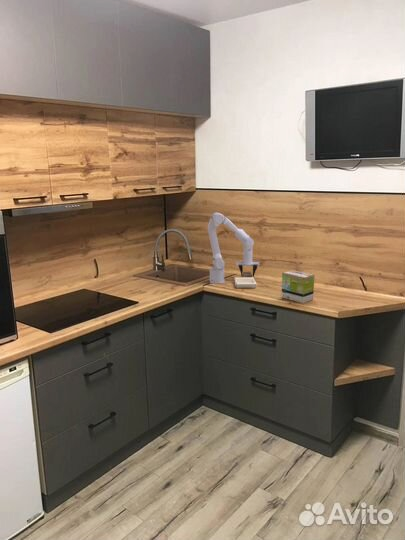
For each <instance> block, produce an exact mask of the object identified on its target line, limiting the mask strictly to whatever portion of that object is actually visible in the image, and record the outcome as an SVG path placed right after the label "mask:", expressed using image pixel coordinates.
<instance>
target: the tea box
mask: <svg viewBox="0 0 405 540" xmlns="http://www.w3.org/2000/svg"><path fill="white" fill-rule="evenodd" d="M281 274H282V277H281V299H287V300H290V301H294V302H298V303H301V304H305V303H307V302H310V301H313V300H314V291H315V289H314V288H315V274H312V273H308V272H304V271H299V270H298V271H297V270H294V269H291V270H289V271H285V272H282V273H281Z"/></svg>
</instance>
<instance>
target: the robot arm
mask: <svg viewBox="0 0 405 540" xmlns="http://www.w3.org/2000/svg"><path fill="white" fill-rule="evenodd" d="M221 224H222V225H225V226H226V227H228V228H229V229H230V230H231V231H232V232H234V236H235V237H236V239H238V240H239V241H240V242H241V243H242V244H243V261H239V262H238V261H236V266H237V267H238V268H239V271H240V276H241V277H243V272H244V271H243V268H244V267H247V266H249V267H251V266H252V277H253V278H254V277H255V273H256V271H257V269H258V267H259V266H260V262H259V261H253V252H254V251H253V246H254V244H255V241H254V239H253V238H251V237H250V234H247V233H246V232H245V230H244V229H242V228H238V227H237V226H236V225H235V224H234V223H233V222H232V221H231V220H230V219H229V218H228V217H226V216H224V215H223V214H222V213H220V212H218V211H217V212H213V213H212V214H211V215H210V216H209V221H208V224H207V233H208V236H209V243H210V246H211V247H210V248H211V251H212V265H213V266H212V268H209V278H208V279H209V284H214V283H215V284H217V283H218V284H219V283H223V284H224V283H226V282H225V266H226V262H225V261H224V260H223V256H222V253H221V249H220V245H219V239H218V235H217V228H218V227H219V226H220V225H221Z"/></svg>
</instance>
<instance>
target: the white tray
mask: <svg viewBox="0 0 405 540" xmlns="http://www.w3.org/2000/svg"><path fill="white" fill-rule="evenodd" d="M257 284H258V283H257V282H256V280H255V278H254V277H253V276H252V277H236V276H235V277H234V285H235V288H236V289H237V288H247V289H248V288H250V289H251V288H253V289H254V288H257Z"/></svg>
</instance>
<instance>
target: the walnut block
mask: <svg viewBox="0 0 405 540" xmlns="http://www.w3.org/2000/svg"><path fill="white" fill-rule="evenodd" d="M243 277H253V272H251V271H243Z"/></svg>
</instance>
